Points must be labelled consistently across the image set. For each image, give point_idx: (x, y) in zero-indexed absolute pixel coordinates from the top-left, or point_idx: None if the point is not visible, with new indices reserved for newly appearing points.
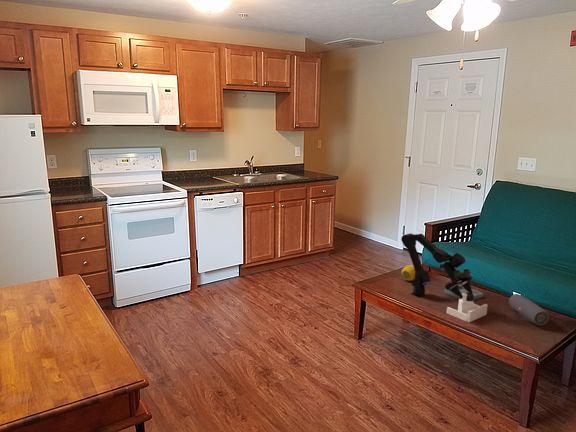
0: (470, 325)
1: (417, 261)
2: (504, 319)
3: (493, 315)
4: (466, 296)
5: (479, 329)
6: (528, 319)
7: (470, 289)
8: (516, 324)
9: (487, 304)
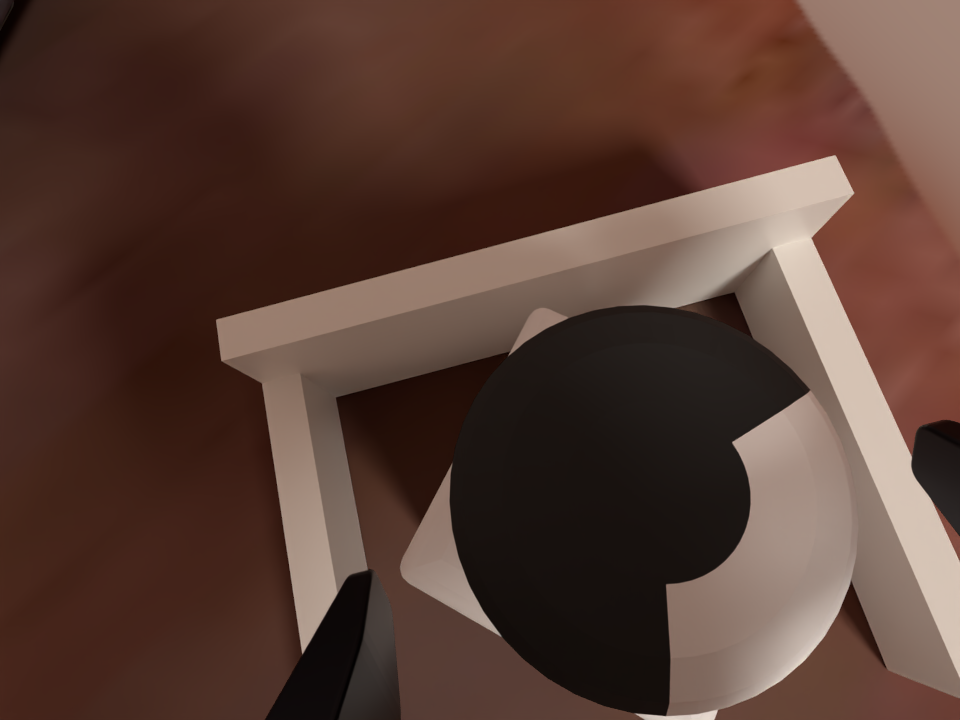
0: None
1: None
2: (205, 185)
3: None
4: (810, 390)
5: (746, 71)
6: (8, 8)
7: (342, 706)
8: (198, 53)
9: (216, 323)
